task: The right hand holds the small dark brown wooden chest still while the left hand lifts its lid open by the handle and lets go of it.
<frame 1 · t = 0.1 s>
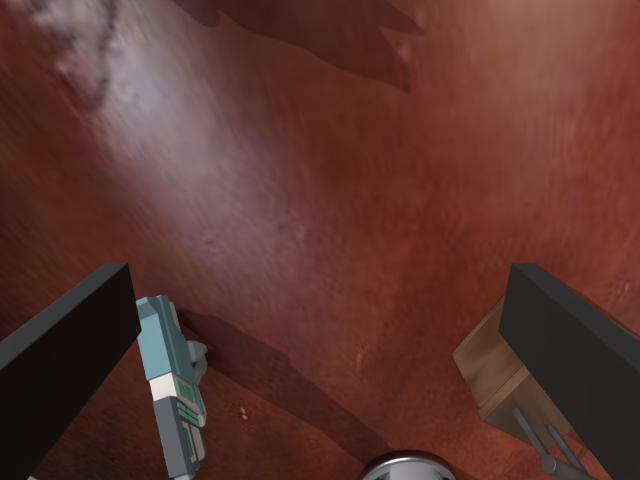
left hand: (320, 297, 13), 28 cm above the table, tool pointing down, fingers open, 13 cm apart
lid: (586, 410, 34), point 13 cm above the table, hinge at 0.0°
chest: (517, 326, 46), on the table
toy gun: (190, 338, 47), on the table
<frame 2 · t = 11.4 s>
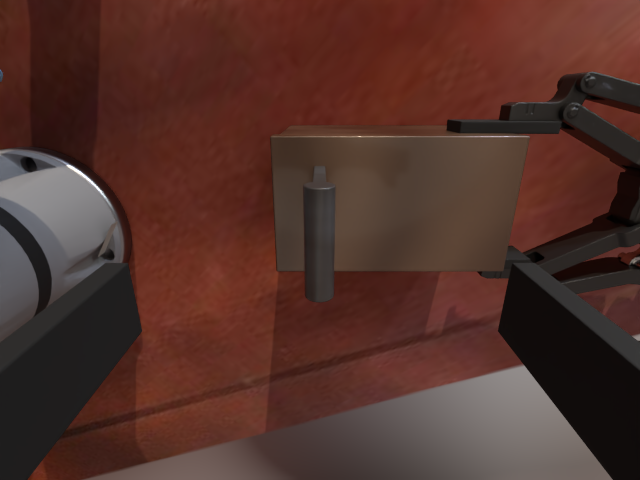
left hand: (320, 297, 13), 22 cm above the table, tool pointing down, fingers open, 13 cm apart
right hand: (444, 195, 27), fingers closed on chest, 9 cm apart
lid: (404, 222, 21), point 13 cm above the table, hinge at 0.0°
chest: (375, 177, 33), on the table, touching right hand
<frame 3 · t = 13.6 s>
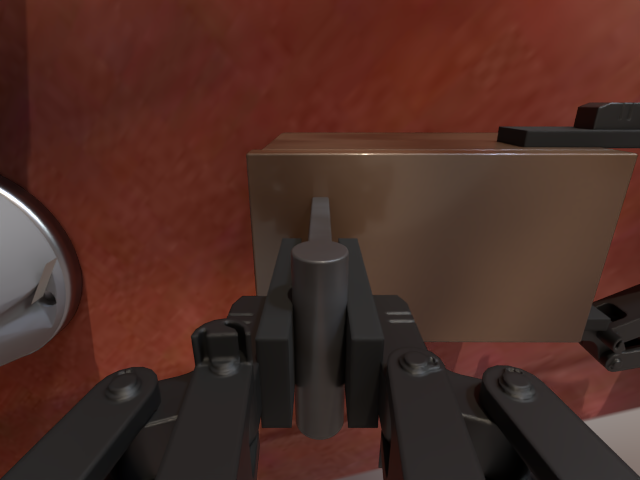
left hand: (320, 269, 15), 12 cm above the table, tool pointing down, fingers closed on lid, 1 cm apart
lid: (451, 288, 13), point 13 cm above the table, hinge at -0.1°, touching left hand
chest: (392, 199, 26), on the table, touching right hand
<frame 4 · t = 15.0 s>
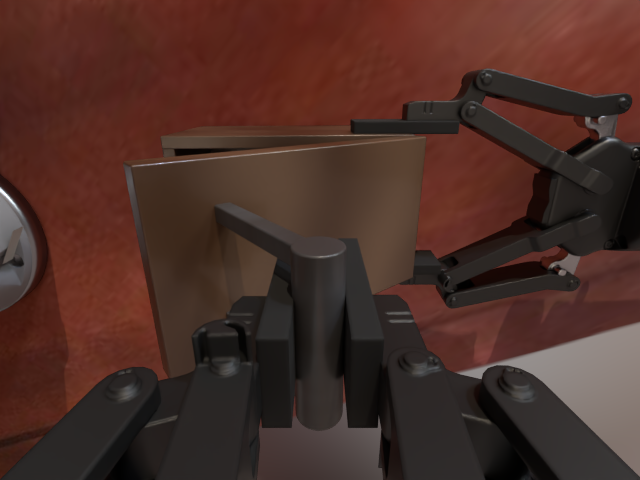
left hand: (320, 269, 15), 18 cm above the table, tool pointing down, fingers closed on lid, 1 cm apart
right hand: (350, 199, 26), fingers closed on chest, 9 cm apart
lid: (359, 259, 16), point 17 cm above the table, hinge at 36.5°, touching left hand
chest: (295, 179, 32), on the table, touching right hand
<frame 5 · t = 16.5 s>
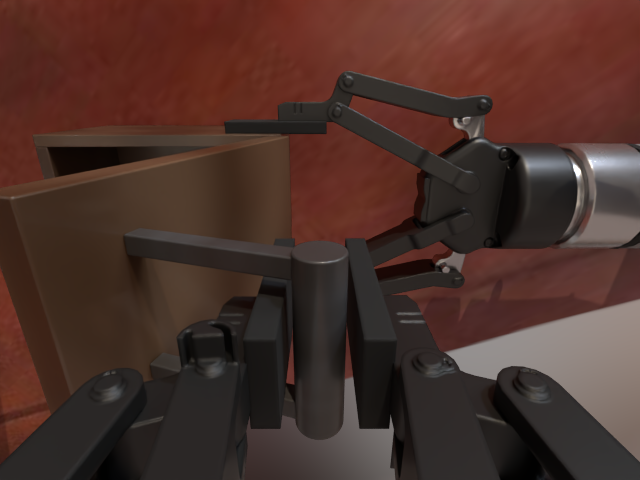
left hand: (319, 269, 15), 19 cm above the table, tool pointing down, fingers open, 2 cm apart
right hand: (236, 197, 26), fingers closed on chest, 9 cm apart
lid: (282, 262, 16), point 18 cm above the table, hinge at 70.3°
chest: (205, 178, 33), on the table, touching right hand
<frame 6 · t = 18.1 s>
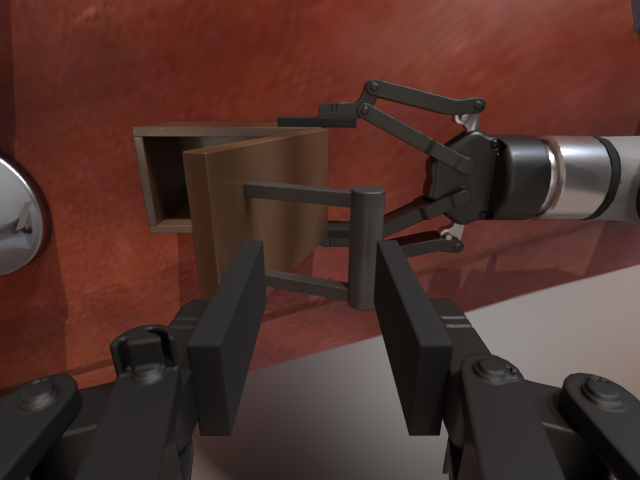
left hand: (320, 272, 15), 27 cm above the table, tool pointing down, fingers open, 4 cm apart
right hand: (281, 178, 33), fingers closed on chest, 9 cm apart
lid: (331, 214, 22), point 18 cm above the table, hinge at 69.1°
chest: (249, 165, 39), on the table, touching right hand
when the right hand's fingers open (7 cm above the table, at t = 20.9 s): chest stays where it is, on the table.
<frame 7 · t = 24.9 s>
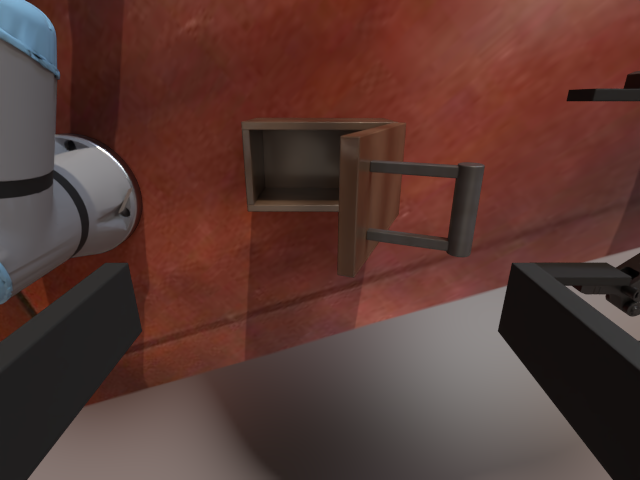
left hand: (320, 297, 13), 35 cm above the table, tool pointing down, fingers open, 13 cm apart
lid: (420, 189, 28), point 18 cm above the table, hinge at 68.0°
chest: (319, 156, 45), on the table
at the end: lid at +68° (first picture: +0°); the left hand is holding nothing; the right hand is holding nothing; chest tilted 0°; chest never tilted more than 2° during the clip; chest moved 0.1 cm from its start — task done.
